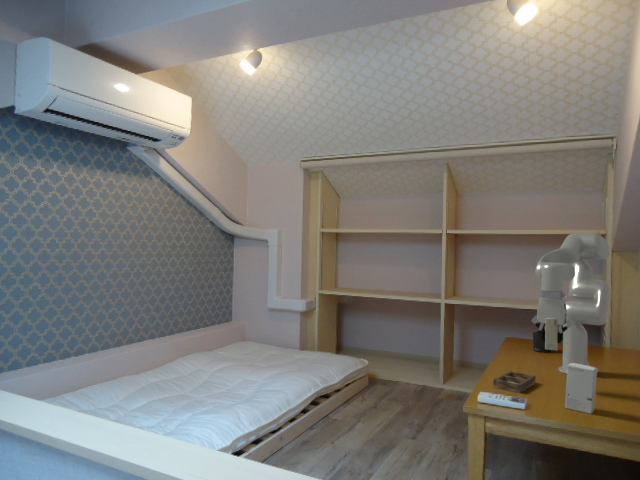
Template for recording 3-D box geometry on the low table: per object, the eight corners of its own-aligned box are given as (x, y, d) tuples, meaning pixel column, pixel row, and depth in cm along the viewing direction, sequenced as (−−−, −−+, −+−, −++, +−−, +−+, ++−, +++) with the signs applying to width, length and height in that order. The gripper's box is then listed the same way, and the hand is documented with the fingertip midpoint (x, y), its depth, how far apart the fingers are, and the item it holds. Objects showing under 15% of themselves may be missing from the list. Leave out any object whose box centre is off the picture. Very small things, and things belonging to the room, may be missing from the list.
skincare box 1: (557, 351, 180) (558, 319, 180) (545, 349, 182) (545, 318, 182) (557, 347, 186) (557, 316, 186) (545, 346, 188) (545, 315, 188)
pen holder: (530, 348, 256) (530, 330, 256) (548, 349, 255) (548, 331, 255) (535, 352, 247) (536, 333, 247) (554, 353, 245) (555, 334, 245)
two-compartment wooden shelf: (535, 383, 189) (535, 375, 189) (519, 393, 176) (520, 385, 176) (510, 378, 196) (510, 371, 196) (493, 387, 182) (493, 379, 183)
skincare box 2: (564, 408, 160) (565, 364, 160) (569, 404, 165) (569, 361, 165) (592, 414, 155) (593, 369, 155) (596, 410, 159) (597, 366, 159)
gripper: (578, 296, 181) (577, 343, 181) (532, 292, 193) (531, 336, 193) (573, 298, 176) (572, 346, 176) (526, 294, 187) (525, 339, 187)
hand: (551, 340), depth 184 cm, fingers closed on skincare box 1, 5 cm apart
